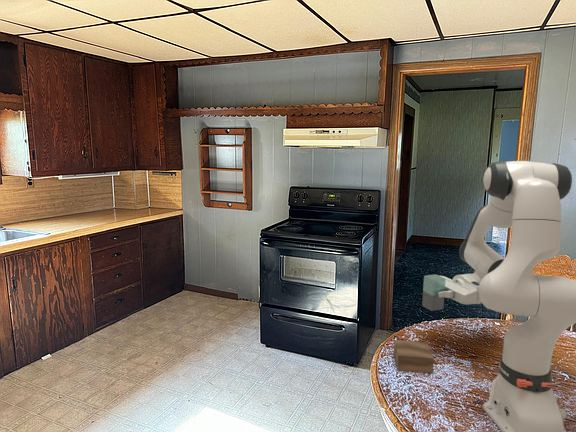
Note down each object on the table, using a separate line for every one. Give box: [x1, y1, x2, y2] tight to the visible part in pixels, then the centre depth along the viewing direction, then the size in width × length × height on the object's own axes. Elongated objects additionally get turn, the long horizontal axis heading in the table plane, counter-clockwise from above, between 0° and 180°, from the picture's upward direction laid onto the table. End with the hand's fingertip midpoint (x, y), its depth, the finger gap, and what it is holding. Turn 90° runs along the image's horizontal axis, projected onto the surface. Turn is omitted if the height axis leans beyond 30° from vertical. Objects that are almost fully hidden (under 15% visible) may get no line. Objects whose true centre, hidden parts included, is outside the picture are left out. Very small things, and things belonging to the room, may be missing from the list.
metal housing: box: [421, 274, 446, 312], centre depth 141 cm, size 5×5×11 cm
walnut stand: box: [393, 339, 435, 374], centre depth 135 cm, size 11×11×5 cm
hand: (431, 291), depth 141 cm, fingers closed on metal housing, 5 cm apart
